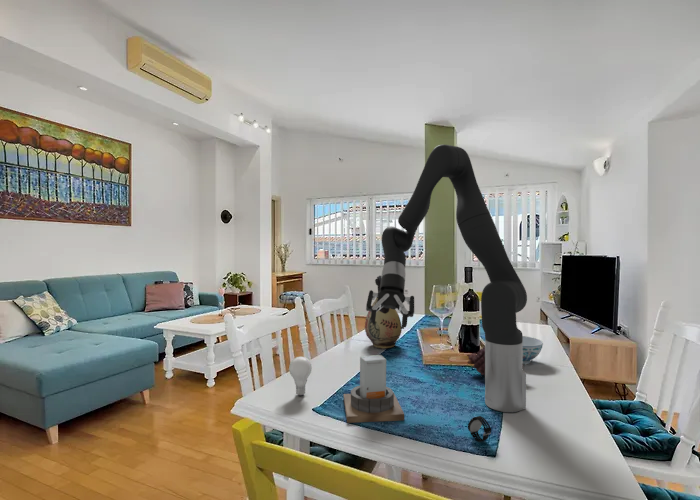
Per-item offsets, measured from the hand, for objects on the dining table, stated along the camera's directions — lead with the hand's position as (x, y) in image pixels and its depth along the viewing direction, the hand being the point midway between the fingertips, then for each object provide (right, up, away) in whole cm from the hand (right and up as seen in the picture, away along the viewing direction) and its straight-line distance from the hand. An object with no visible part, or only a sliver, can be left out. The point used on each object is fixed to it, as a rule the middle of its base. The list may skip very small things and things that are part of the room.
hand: (388, 325), depth 112 cm
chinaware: (+51, -19, +28) cm, 61 cm away
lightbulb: (-25, -20, -2) cm, 32 cm away
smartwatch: (+17, -20, -28) cm, 38 cm away
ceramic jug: (+3, -19, +49) cm, 53 cm away
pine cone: (+35, -19, +12) cm, 41 cm away
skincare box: (-5, -18, -11) cm, 22 cm away
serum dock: (-5, -20, -12) cm, 23 cm away
